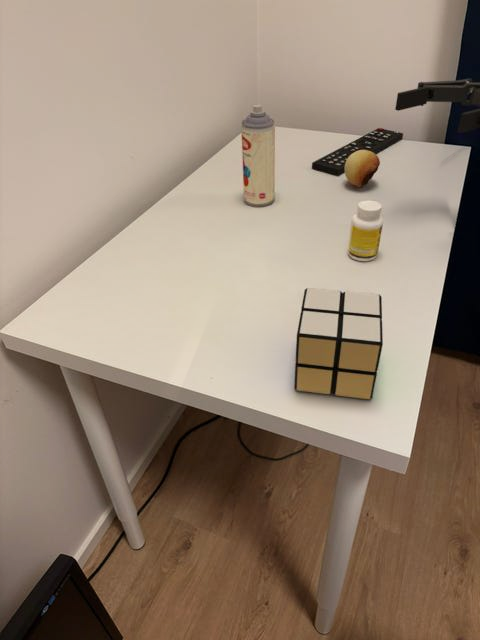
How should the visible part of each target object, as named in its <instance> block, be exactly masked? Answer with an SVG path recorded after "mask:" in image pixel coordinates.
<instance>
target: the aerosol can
mask: <svg viewBox="0 0 480 640" xmlns="http://www.w3.org/2000/svg"><path fill="white" fill-rule="evenodd" d="M252 106H253V107H252V108H253V109H252V111H251V112H250V113H249V114H248V115H247V116H246V118H245V119H243V120H242V121H241V127H240V128H241V129H240V130H241V153H242V157H241V158H242V180H243V181H242V183H243V203H244V204H245V205H247V206H249V207H252V208H264V207H265V208H266V207H268V206H271V205H272V204H274V202H275V193H276V192H275V187H276V186H275V185H276V181H275V180H276V178H275V177H276V173H275V172H276V125H275V120H274V119H273V118H271V117H270V116H269V114H267V113H266V112H265V111H264V110H263V105H262V104H254V105H252Z"/></svg>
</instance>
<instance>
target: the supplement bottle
mask: <svg viewBox="0 0 480 640" xmlns="http://www.w3.org/2000/svg"><path fill="white" fill-rule="evenodd" d="M382 208H383V206H382V204H381V203H380V202H378V201H375V200H367V199H366V200H361V201H359V202H358V204H357V209H356V213H355V214H354V215H353V216H352V218H351V224H350V230H349V239H348V246H347V247H348V248H347V254H348V256H349V257H350V258H351V259H353V260H354V261H359V262H369V261H373V260H374V259H376V258H377V257H378V255H379V254H378V253H379V249H380V242H381V236H382V230H383V225H384V219H383V216H381V213H382Z"/></svg>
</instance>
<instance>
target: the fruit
mask: <svg viewBox="0 0 480 640" xmlns="http://www.w3.org/2000/svg"><path fill="white" fill-rule="evenodd" d="M380 164H381V160H380V157H379V156H378V154H375V153H373V152H371V151H367V150H359V151H356V152H354V153H352V154H351V155H350V156H349V157H348V159H347V161H346V163H345V173H344V175H345V177H346V179H347V181H348V182H349V183H350V184H351V185H352V186H355V187H356V188H362V187H365V186H366V185H368V184H369V182H370V180H372V178H373V177H374V175H375V174H376V173H377V172H378V169H379V166H380Z"/></svg>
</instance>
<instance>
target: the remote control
mask: <svg viewBox="0 0 480 640" xmlns="http://www.w3.org/2000/svg"><path fill="white" fill-rule="evenodd" d="M403 138H404V133H403V132H400V131H395V130H390V129H385V128H382V127H377V128H376V129H374V130H372V131H370V132H368V133H366V134H364V135H362V136H360V137H359V138H357V139H355V140H352V141H351V142H349V143H347V144H345V145H343V146H342V147H340V148H338V149H336V150H334V151H332V152H330V153H328V154H326V155H324V156H322V157H320V158H318V159H316V160H315V161H312V162H311V169H312V170H315V171H318V172H322V173H325V174H328V175H332V176H335V177H340V176H341V175H343V174H345V163H346V161H347V159H348V157H349V156H350V155H351V154H352V153H354V152H356V151H359V150H367V151H371V152H373V153H375V154H376V155H378V154H379V153H381V152H383V151H384V150H386V149H388V148H390V147H392V146H393V145H395V144H397V143H399V142H401V141H402V140H403Z"/></svg>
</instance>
